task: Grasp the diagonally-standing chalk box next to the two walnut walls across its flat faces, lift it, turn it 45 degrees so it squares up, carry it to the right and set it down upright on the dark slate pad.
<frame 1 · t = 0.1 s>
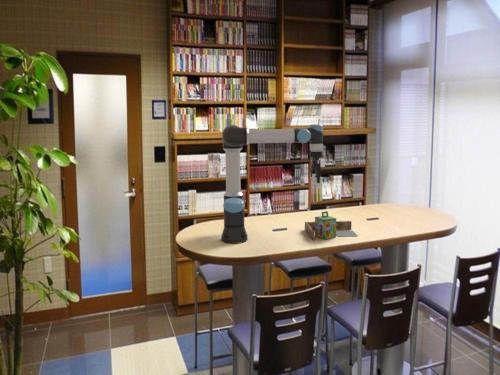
hand: (315, 186, 275), 28 cm above the table, fingers open, 13 cm apart
chalk box: (325, 237, 269), on the table
arena: (331, 234, 274), on the table
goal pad: (345, 233, 274), on the table
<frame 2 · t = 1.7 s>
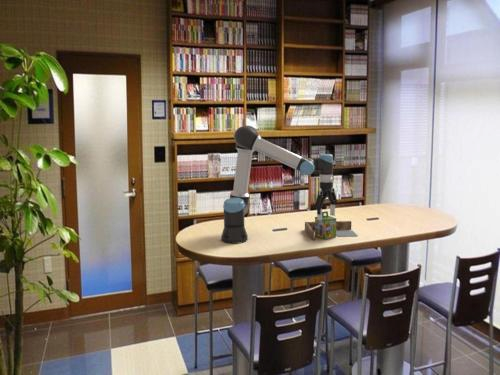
hand: (326, 217, 267), 11 cm above the table, fingers open, 13 cm apart
nothing on the table moved.
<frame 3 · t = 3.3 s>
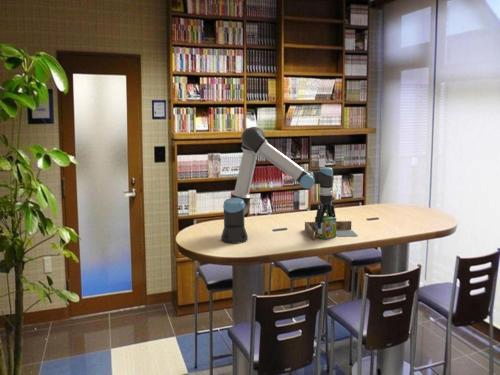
hand: (325, 231, 268), 3 cm above the table, fingers closed on chalk box, 10 cm apart
chalk box: (325, 236, 269), on the table, touching gripper
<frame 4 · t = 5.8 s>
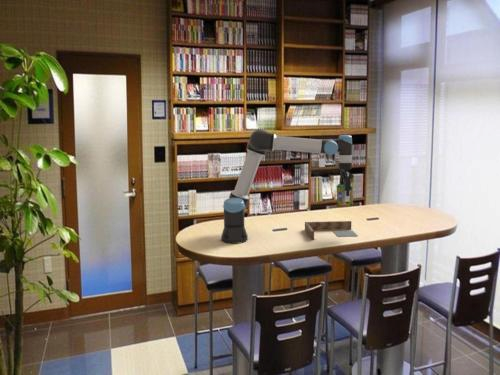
hand: (344, 199, 270), 21 cm above the table, fingers closed on chalk box, 10 cm apart
chalk box: (344, 204, 271), point 18 cm above the table, touching gripper
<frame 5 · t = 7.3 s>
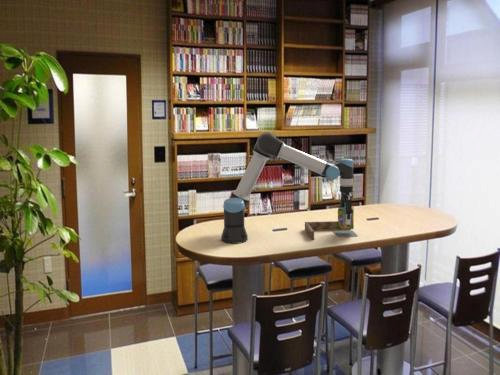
hand: (345, 222, 273), 7 cm above the table, fingers closed on chalk box, 10 cm apart
chalk box: (345, 227, 273), point 4 cm above the table, touching gripper
when the fingers open (5 cm above the table, at t = 8.6 s): chalk box drops 1 cm, resting on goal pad.
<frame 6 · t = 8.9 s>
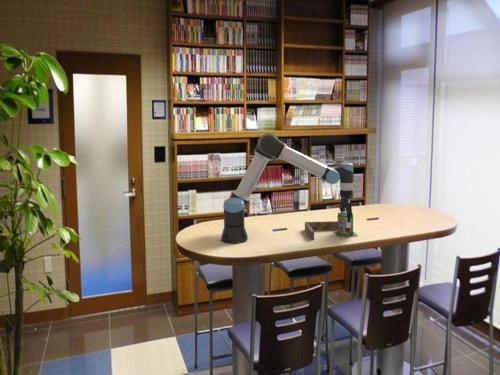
hand: (345, 224, 273), 5 cm above the table, fingers open, 13 cm apart
chalk box: (345, 233, 274), resting on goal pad
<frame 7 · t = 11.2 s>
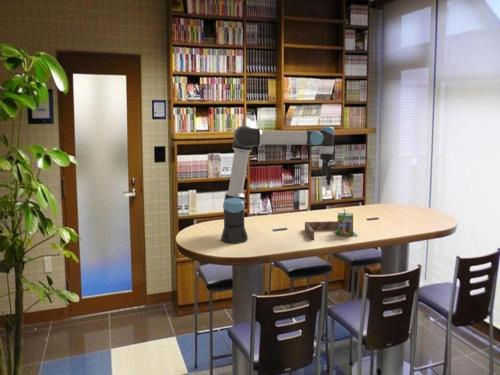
hand: (325, 188, 276), 26 cm above the table, fingers open, 13 cm apart
nothing on the table moved.
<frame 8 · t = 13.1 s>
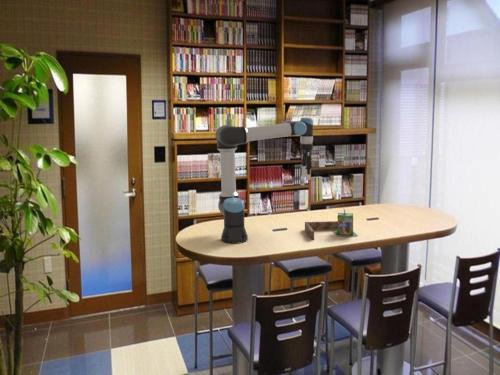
hand: (306, 178, 283), 32 cm above the table, fingers open, 13 cm apart
nothing on the table moved.
at the end: chalk box inside the target area (0.2 cm from its centre), resting on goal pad; chalk box tilted 0°; the gripper is holding nothing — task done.
